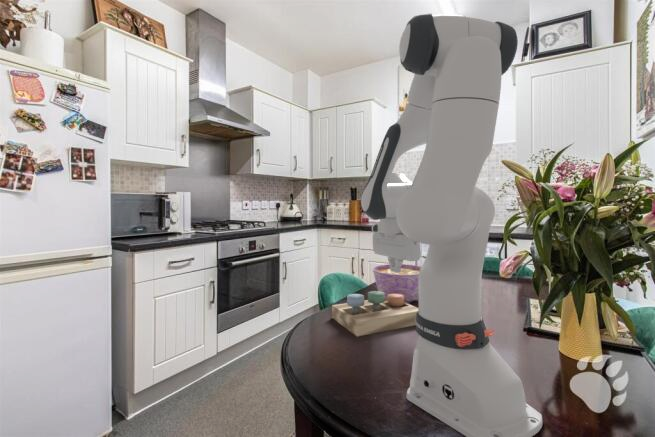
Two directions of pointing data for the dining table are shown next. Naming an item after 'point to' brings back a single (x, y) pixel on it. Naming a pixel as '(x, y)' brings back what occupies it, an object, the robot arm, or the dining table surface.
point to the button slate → (355, 302)
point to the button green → (376, 299)
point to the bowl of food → (398, 281)
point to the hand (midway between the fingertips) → (395, 272)
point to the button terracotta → (395, 300)
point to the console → (374, 317)
